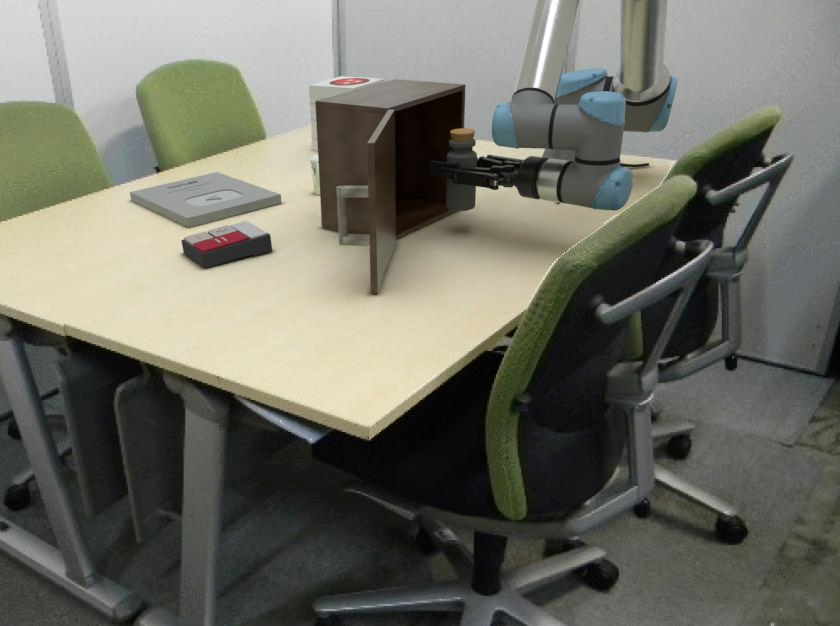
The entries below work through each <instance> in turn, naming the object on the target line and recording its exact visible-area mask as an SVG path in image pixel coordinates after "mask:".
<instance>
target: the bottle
mask: <svg viewBox="0 0 840 626" xmlns="http://www.w3.org/2000/svg"><path fill="white" fill-rule="evenodd" d="M475 132H476V130H475V129H473V128H469V127H468V128H465V127H464V128H461V129H454V130H451V131H450V134H451V140H450V141H449V146H450V147H452V151H450V152H449V153H448V154H447V163H452V164H456V163H459V166H460V167H477V157H478V153H477V152H476V151H475V150H473V147H475V146H476V144H477V141H476V139H475V138H474V137H475ZM476 193H477V186H470V185H463V184H455V183H453V179H451V178H446V208H447V209H449V210H453V211H457V212H465V211H470V210H473V209H475V208H476V200H477V199H476V198H477V197H476V196H477V195H476Z"/></svg>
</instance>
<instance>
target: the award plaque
mask: <svg viewBox="0 0 840 626" xmlns="http://www.w3.org/2000/svg"><path fill="white" fill-rule="evenodd" d="M129 197H130V201H131V202H133V203H135V204H137V205H139V206H141V207H144V208H146V209H148V210H150V211H152V212H154V213H156V214H159V215H161V216H163V217H165V218H167V219H169V220H171V221H173V222H175V223H178V224H180V225H182V226H184V227H186V228H192V227H196V226H201V225H204V224H207V223H211V222H216V221H220V220H223V219H227V218H231V217H234V216H239V215H242V214H246V213H250V212H254V211H257V210H262V209H265V208H269V207H273V206H277V205H280V204H282V194H281V193H278V192H275V191H272V190H270V189H267V188H264V187H261V186H258V185H255V184H252V183H249V182H247V181H244V180H241V179H238V178H235V177H232V176H230V175H227V174H224V173H221V172H219V171H216V172H211V173H207V174H202V175H198V176H194V177H188V178H185V179H180V180H176V181H171V182H167V183H163V184H159V185H155V186H151V187H145V188H141V189H137V190H132V191H130V192H129Z"/></svg>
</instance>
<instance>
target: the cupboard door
mask: <svg viewBox="0 0 840 626" xmlns="http://www.w3.org/2000/svg"><path fill="white" fill-rule="evenodd" d="M367 160H368V186H337V208H338V231H339V232H338V245H339V246H342V247H343V246H345V247H347V246H348V247H349V246H350V247H353V246H354V247H356V246H357V247H358V246H360V247H369V268H370V269H369V273H370V274H369V275H370V279H369V280H370V294H372V295H378V294H379V292H380V288H381V287H382V286H381V285H382V283H383V280H384V277H385V275H386V271H387V269H388V266H389V264H390V261H391V258H392V256H393V252H394V250H395V247H396V244H397V240H396V202H395V110H388V111H387V113H386V114H385V116H384V117H383V119H382V120H381V122H380V124H379V125H378V127H377V128H376V130H375V131H374V133H373V135H372V136H371V138H370V139H369V141H368V143H367ZM347 198H368V200H369V234H348V223H347Z"/></svg>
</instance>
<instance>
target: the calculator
mask: <svg viewBox="0 0 840 626" xmlns="http://www.w3.org/2000/svg"><path fill="white" fill-rule="evenodd" d="M206 231H207V232H206ZM206 231H201V232H197V233H194V234H190V235H186V236H184V237H183V239H181V247H182V252H183V254H184V255H185V256H186V257H188V258H189V259H190V260H192V261H193V262H194V263H196V264H197V265H199V266H200V267H201V268H202V269H209V268H211V267H216V266H218V265H221V264H225V263H228V262H232V261H235V260H238V259H241V258H245V257H248V256H255V257H258V256H262V255H265V254H268V253H272V252H273V244H272V238H271V234H270V233H268V232H267V231H265V230H263V229H261V228H259V227H258V226H256V225H254V224H253V223H250V222H249V221H247V220H243V221H240V222H236V223H233V224H230V225H229V224H226V225H222V226H218V227H215V228H212V229H208V230H206Z"/></svg>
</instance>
